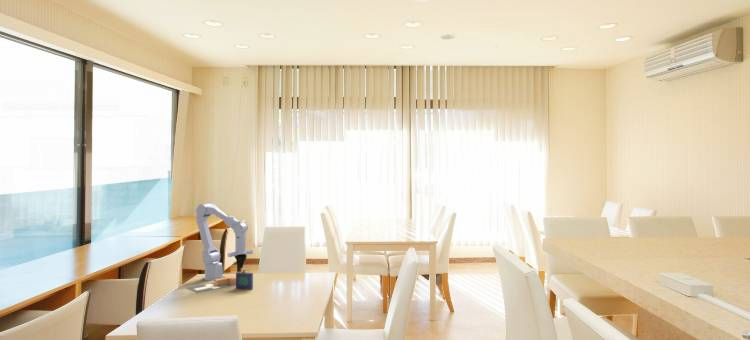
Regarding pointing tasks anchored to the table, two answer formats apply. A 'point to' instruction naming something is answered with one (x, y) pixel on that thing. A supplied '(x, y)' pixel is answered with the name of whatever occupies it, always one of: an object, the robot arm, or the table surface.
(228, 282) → the t block
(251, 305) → the table surface
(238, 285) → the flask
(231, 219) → the robot arm
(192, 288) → the mat
